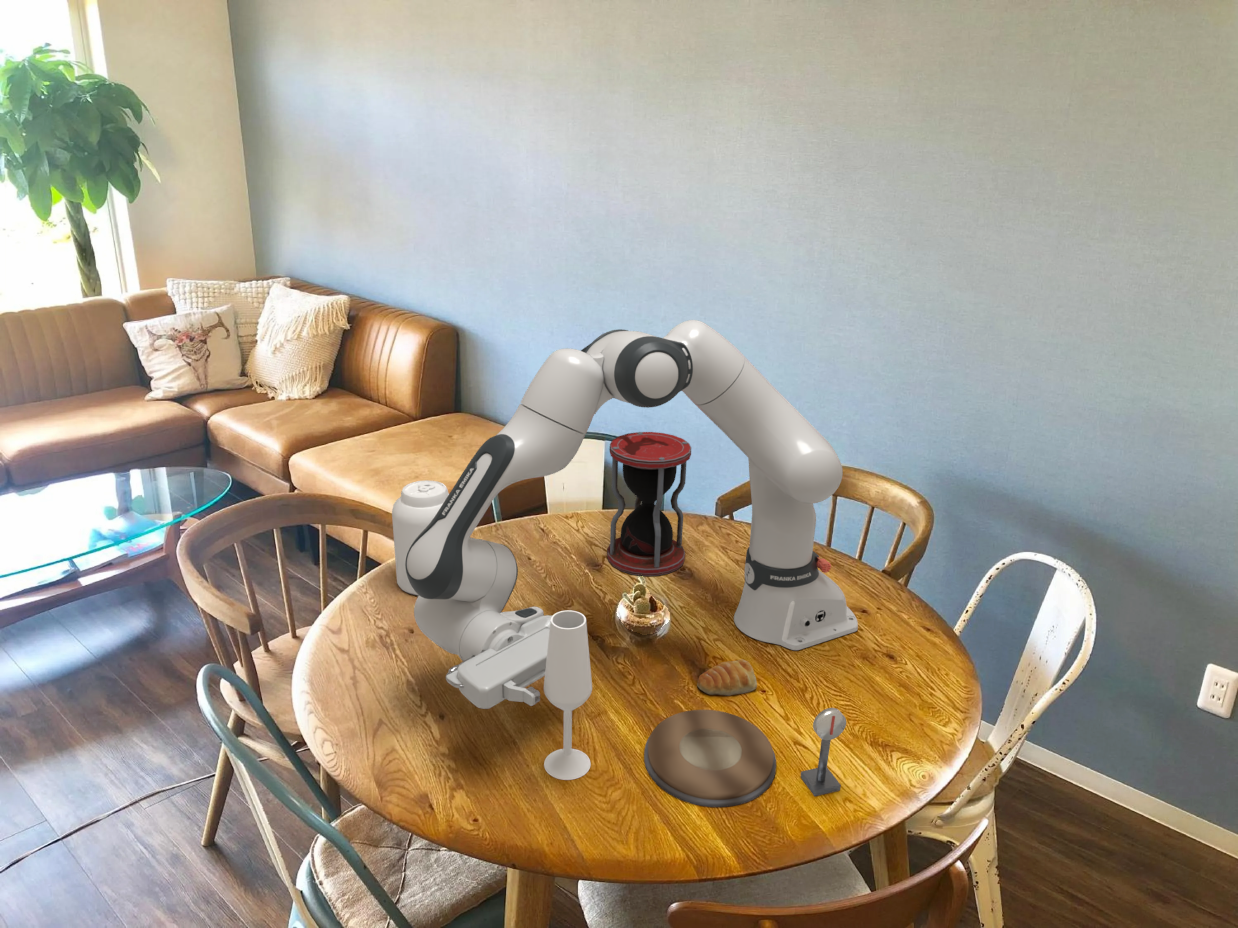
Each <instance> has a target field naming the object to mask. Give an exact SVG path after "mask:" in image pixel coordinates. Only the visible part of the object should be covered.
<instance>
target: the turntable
mask: <svg viewBox="0 0 1238 928" xmlns="http://www.w3.org/2000/svg"><path fill="white" fill-rule="evenodd" d="M643 753H644V757H643V759H644V764H645V768H646V771H647V774H648V775H649V777H650V778H651V779H652V781H653V782H654V783H655V784H656V785H657V786H658V787H659V788H660V789H662V791H664V792H665V793H667V794H669V795H671V796H672V797H674V798H676V799H678V800H680V801H682V802H685V803H689V804H691V805H692V804H693V805H696V806H699V807H700V806H701V807H708V808H727V807H728V808H729V807H734V806H739V805H742V804H746V803H748V802H750V801H751V802H752V801H753V800H755V799H757V798H758V797H761V795H762V794H763V793H765V792H766V791H767V790H768V789H769V788H770V787H771V785H772V783H773V781H774V779H775V776H776V770H777V759H776V754H775V752H774V749H773V746H772V744H771V742H770V740H769V739H768V736H766V734H764V732H763V731H762V730H761V729H760V728H759V727H758V726H757V725H754V724H753V723H752V722H750V721H749V720H747V719H745V718H743V717H741V716H738V715H735V714H733V713H729V712H727V711H726V712H725V711H720V710H714V709H693V710H687V711H681V712H678V713H675V714H673V715H671V716H668V717H666V718H665V719H663V720H662V721H660V722H659V724H657V725H656V727H655V728H654V729H653V730H652V732H651V733H650V735H649V736H648V739H646V743H645V746H644V752H643Z"/></svg>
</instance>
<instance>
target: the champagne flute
mask: <svg viewBox="0 0 1238 928" xmlns="http://www.w3.org/2000/svg"><path fill="white" fill-rule="evenodd" d="M551 616H552V617H551V622H550V631H549V641H548V650H547V660H546V669H545V676H544V679H543V693H544V695H545V698H547V700H548V701H549V703H550V704H551V705H553V706H555V707H556V708H558V709H560V710H561V711H563V738H562V739H563V743H562V745H563V748H560V749H559V748H558V749H557V750H554V751H552V752H551V753H550V754H548V755H547V756H546V758H545V759H544V762H543V763H544V764H543V767H544V769H545V771H546V772H547V774H548V775H550V776H551V777H553V778H554V779H558V780H564V781H571V780H575V779H579V778H582V777H583V776H585V775H586V774H587V773H588V772H589V770H590V768H591V765H592V764H591V760H590V758H589V756H588V755H587V754H586V753H585V752H583V751H582V750H579V749H576V748H572V747H573V746H572V745H573V744H572V743H573V742H572V741H573V739H572V737H573V729H572V727H573V726H572V725H573V720H572V719H573V711H574V710H575V709H577V708H579V707H581V706H582V705H584V704H585V702H586V701H588V699H589V698H590V696H591V695H592V692H593V682H592V681H593V680H592V669H591V660H590V658H591V657H590V648H589V638H588V625H587V618H586V616H585V615H584V614H583V613H581V612H579V611H576V610H571V609H569V610H567V609H566V610H561V611H557V612H556V613H554V614H553V615H551Z"/></svg>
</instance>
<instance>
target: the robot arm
mask: <svg viewBox="0 0 1238 928" xmlns="http://www.w3.org/2000/svg"><path fill="white" fill-rule="evenodd" d="M680 392H682V393H683V394H685V396H686V397H687V398H688V399H689V400H690V401H691V402H692V404H694V405H695V406H696V407H697V408H698V409H699V410H700V411H701V412H702V413H703V414H705V416H706V417H708V418H709V420H710V421H711V422H712V423H713V424H714V425H715V426H716V427H717V428H718V429H720V430H721V432H722V433H724V434H725V436H726V437H727V438H728V439H729V440H730V441H731V442H732V443H733V444H734V445H735V446H736V447H737V448H738V449H739V450H740V451H741V452H742V453H743V454H744V455H745V456H746V457H747V458H748V476H749V486H750V488H749V489H750V494H751V495H750V497H751V523H750V534H749V535H750V536H749V546H748V547H747V549H746V554H745V562H744V583H743V589H742V594H741V597H740V600H739V602H738V603H739V604H738V605H737V608H736V610H735V613H734V616H733V622H734V624H735V626H736V627H737V628H738V630H739V631H741V632H742V633H743V634H745V635H746V636H748V637H750V638H752V639H755V640H757V641H760V642H764V643H768V644H769V643H770V644H775V645H779V646H782V647H784V648H786V649H789V650H792V651H799V650H802V649H803V650H804V649H805V648H809V647H813V646H815V645H819V644H821V643H824V642H828V641H830V640H834V639H836V638H837V639H838V638H839V637H842V636H846V635H848V634H852V633H855V632H857V631H858V628H859V622H858V619H857V617H856V615H855V613H854V612H853V611H852V610H851V609H850V607H848V606H847V600H846V596H845V593H844V592H843V590H842V589H841V588H840V585H838V584H837V583H836V582H834V580H832V579H831V578H830V577H829V576H828V575H826V573H828V572H830V571H831V569H832V564H831V562H829V561H828V560H827V559H825V558H823V557H822V558H820V555H819V554H818V553H817V552H815V551H813V550H814V542H815V533H816V527H817V513H816V510H815V509H816V508H815V507H814V504H818V503H822V502H823V501H826V500H828V499H829V498H830V497H832V496H833V495H834V493H836V491H837V489H839V487H840V484H841V482H842V481H843V480H842V479H843V465H842V463H841V460H840V458H839V456H838V454H837V453H836V451H835V448H834V447H833V446H832V444H831V443H830V442H829V441H828V439H826V438H825V436H823V435H822V434H821V433H820V432H819V431H818V429H816V428H815V426H813V425H812V424H811V423H810V422H809V420H808V419H806V418H805V416H803V415H802V414H801V413H800V411H798V410H797V408H796V407H795V406H793V405H792V403H791V402H789V401H788V399H786V397H784V395H782V393H781V392H779V390H777V389H776V387H774V385H773V384H772V383H770V382H769V380H768V379H767V378H766V377H765V376H764V375H763V374H762V373H761V372H760V371H759V370H758V369H757V367H755V365H753V364H752V362H750V360H749V359H748V358H747V357H746V356H745V355H744V354H743V353H742V352H741V351H740V350H739V349H738V348H737V347H736V346H735V345H734V344H733V343H731V342H730V340H729V339H727V338H726V337H724V336H723V335H722V334H721V333H719V332H718V331H717V330H715V329H714V328H713V327H711V326H709V325H708V324H706V323H705V322H703V321H701V320H697V319H689V320H685V321H682V322H680V323H678V324H676V325H675V326H674V327H673V328H672V329H670V330H669V332H667V334H666V335H665V336H663V337H659V336H656V335H652V334H650V333H647V332H643V331H639V330H638V331H637V330H636V331H635V330H628V329H612V330H609V331H606V332H604V333H602V334H601V335H599V336H598V337H597V338H595V339H594V340H593V341H591V343H589V344H588V345H586V346H584V348H582V349H576V348H568V347H567V348H559V349H556V350H554V351H553V352H552V353H550V355H549V356H548V357H547V358H546V360H545V361H544V362H543V364H542V365H541V366H540V368H539V369H538V371H537V372H536V374H535V376H534V377H533V378H532V380H531V381H530V384H529V385H528V387H527V389H526V391H525V393H524V394H523V397H522V398H521V400H520V403H519V405H518V407H517V409H516V410H515V412H514V414H513V415H512V417H511V418H510V419H509V421H508V422H507V423H506V425H504V427H503V428H502V429H501V430H500V431H499V432H498V433H497V434H495V435H493V436H491V437H489V438H488V439H487V440H485V441H484V443H482V444H481V446H480V447H479V448H478V449H477V451H476V452H475V454H474V455H473V457H472V458H471V459H470V461H469V463H468V464H467V466H465V468H464V470H463V472H462V473H461V475H460V476H459V478H458V480H456V483H455V484H454V486H453V487H452V489H451V490H450V492H449V495H448V497H447V498H446V500H445V501H444V503H443V505H442V506H441V508H440V509H439V511H438V512H437V514H436V515H435V517H434V518H433V520H432V521H431V522H430V524H429V525H428V526H427V527H426V528H425V529H424V530H423V531H422V532H421V533H420V535H419V536H418V537H417V538H416V539H415V541H414V542H413V543H412V545H411V547H410V548H409V551H408V553H407V556H406V562H405V567H406V574H407V577H408V580H409V582H410V584H411V586H412V587H413V589H414V590H415V592H416V593H417V594H418V595H417V598H416V600H415V603H414V608H413V616H414V621H415V623H416V625H417V627H418V629H419V630H420V631H421V632H422V634H423V635H425V637H427V638H428V639H429V640H431V641H432V642H433V643H434V644H435V645H437V646H438V647H440V648H441V649H442V650H444V651H446V652H447V653H450V654H452V655H456V656H458V657H459V658H460V660H461V662H459V664H454V665H453V666H451V667H450V668H449V669H448V670H447V671H448V672H447V673H446V674H445V680H446V682H447V683H448V684H449V685H451V686H452V687H453V688H455V689H458V690H459V691H460V693H461V694H462V695H463V696H464V697H465V698H466V699H467V700H468V701H469V702H470V703H471V704H473V705H474V706H475V707H477V708H479V709H484V710H488V709H491V708H493V707H495V706H496V705H497V704H500V703H501V702H503V701H505V700H508V701H509V702H520V703H523V702H524V703H525V704H527V705H528V706H530V707H532V706H534V705H537V703H539V702H540V701H541V693H540V691H539V690H538V689H535V687H533V686H530V685H531V684H534V683H535V682H537V681H539V680H540V679H542V678H543V677H544V678H545V669H546V660H547V650H548V641H549V631H550V622H551V617H552V616H553V615H544V614H545V613H544V610H543V609H542V608H540V607H538V606H529V607H527V608H523V609H519V610H512V611H511V610H510V611H503V610H504V609H505V607H506V605H507V603H508V601H509V600H510V598H511V595H512V593H513V591H514V589H515V586H516V584H517V581H518V576H519V575H518V574H519V573H518V572H519V571H518V562H517V560H516V557H515V554H514V553H513V552H512V550H511V549H510V548H509V547H508V546H507V545H505V544H503V543H498V542H494V541H490V540H485V539H482V538H475V537H471V536H472V534H473V533H474V531H475V530H476V528H477V526H478V525H479V523H480V521H481V520H482V519H483V517H484V515H485V514H486V512H487V510H488V508H489V507H490V506H491V504H492V502H493V501H494V499H495V498H496V496H497V495H498V494H499V493H500V492H502V490H504V489H505V488H507V487H509V486H511V485H512V484H515V483H517V482H521V481H525V480H528V479H534V478H542V477H547V476H548V477H549V476H550V475H555V474H556V473H559V472H561V471H562V470H564V469H565V468H566V467H567V466H568V465H569V464H570V463H571V462H572V461H573V459H574V458H575V456H576V455H577V453H578V451H579V449H580V447H581V445H582V444H583V443H582V442H583V440H584V439H585V436H586V434H587V433H588V430H589V427H590V425H591V423H592V420H593V418H594V416H595V415H596V413H598V411H599V409H600V408H602V406H603V405H604V404H605V403H607V402H608V401H610V400H612V399H616V400H618V401H620V402H623V403H627V404H630V405H633V406H635V407H639V408H647V409H648V408H656V407H660V406H662V405H665V404H666V403H669V401H671V400H672V399H674V398H675V397H676V396H677V395H678V394H680ZM528 686H529V687H528ZM527 687H528V688H527Z"/></svg>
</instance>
